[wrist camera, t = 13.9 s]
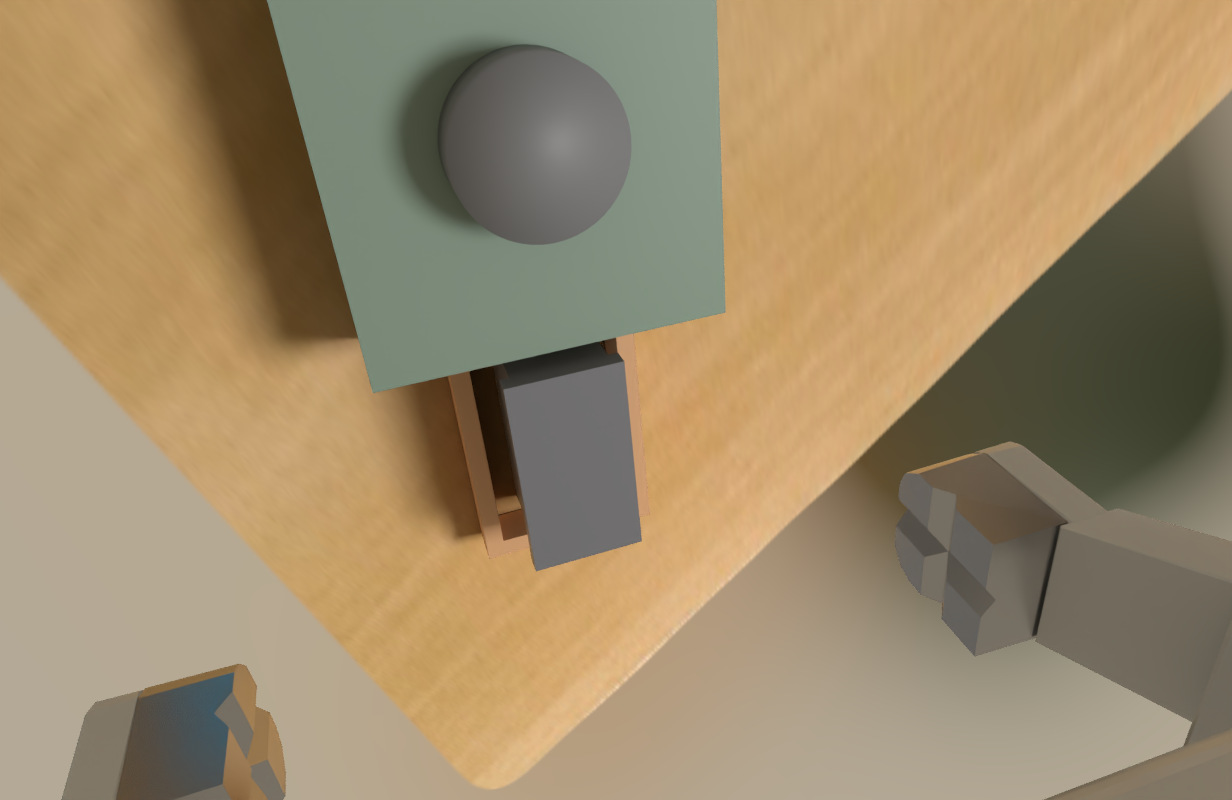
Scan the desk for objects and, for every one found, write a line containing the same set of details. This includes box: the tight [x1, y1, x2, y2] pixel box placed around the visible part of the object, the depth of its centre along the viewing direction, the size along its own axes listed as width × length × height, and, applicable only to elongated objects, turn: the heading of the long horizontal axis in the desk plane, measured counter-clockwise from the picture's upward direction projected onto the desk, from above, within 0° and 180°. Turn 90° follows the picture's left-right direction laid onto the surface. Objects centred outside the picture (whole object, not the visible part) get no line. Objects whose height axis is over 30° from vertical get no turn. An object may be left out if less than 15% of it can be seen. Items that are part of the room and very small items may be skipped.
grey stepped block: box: [493, 342, 642, 571], centre depth 38 cm, size 5×9×6 cm, turn 6°
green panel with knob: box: [267, 0, 726, 559], centre depth 33 cm, size 14×27×7 cm, turn 6°
